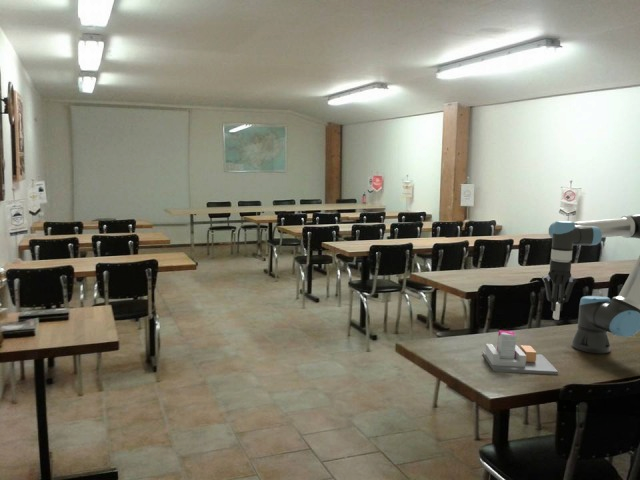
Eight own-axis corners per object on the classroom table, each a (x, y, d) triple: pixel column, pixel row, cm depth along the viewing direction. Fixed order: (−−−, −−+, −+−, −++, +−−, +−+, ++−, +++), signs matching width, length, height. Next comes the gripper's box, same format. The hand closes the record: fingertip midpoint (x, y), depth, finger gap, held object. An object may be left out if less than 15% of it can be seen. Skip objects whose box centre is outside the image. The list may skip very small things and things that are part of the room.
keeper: (529, 355, 223) (530, 345, 222) (535, 362, 215) (536, 352, 214) (519, 354, 223) (520, 345, 222) (525, 361, 215) (526, 351, 214)
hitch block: (541, 357, 225) (542, 343, 224) (558, 374, 206) (559, 360, 205) (482, 354, 226) (483, 341, 226) (493, 371, 208) (494, 356, 207)
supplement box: (514, 363, 213) (516, 335, 212) (499, 362, 214) (501, 334, 212) (510, 358, 219) (513, 330, 218) (495, 357, 220) (497, 329, 218)
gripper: (574, 259, 216) (569, 316, 219) (540, 258, 217) (536, 315, 220) (581, 262, 208) (576, 322, 212) (547, 261, 209) (542, 320, 212)
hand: (555, 318), depth 216 cm, fingers closed
